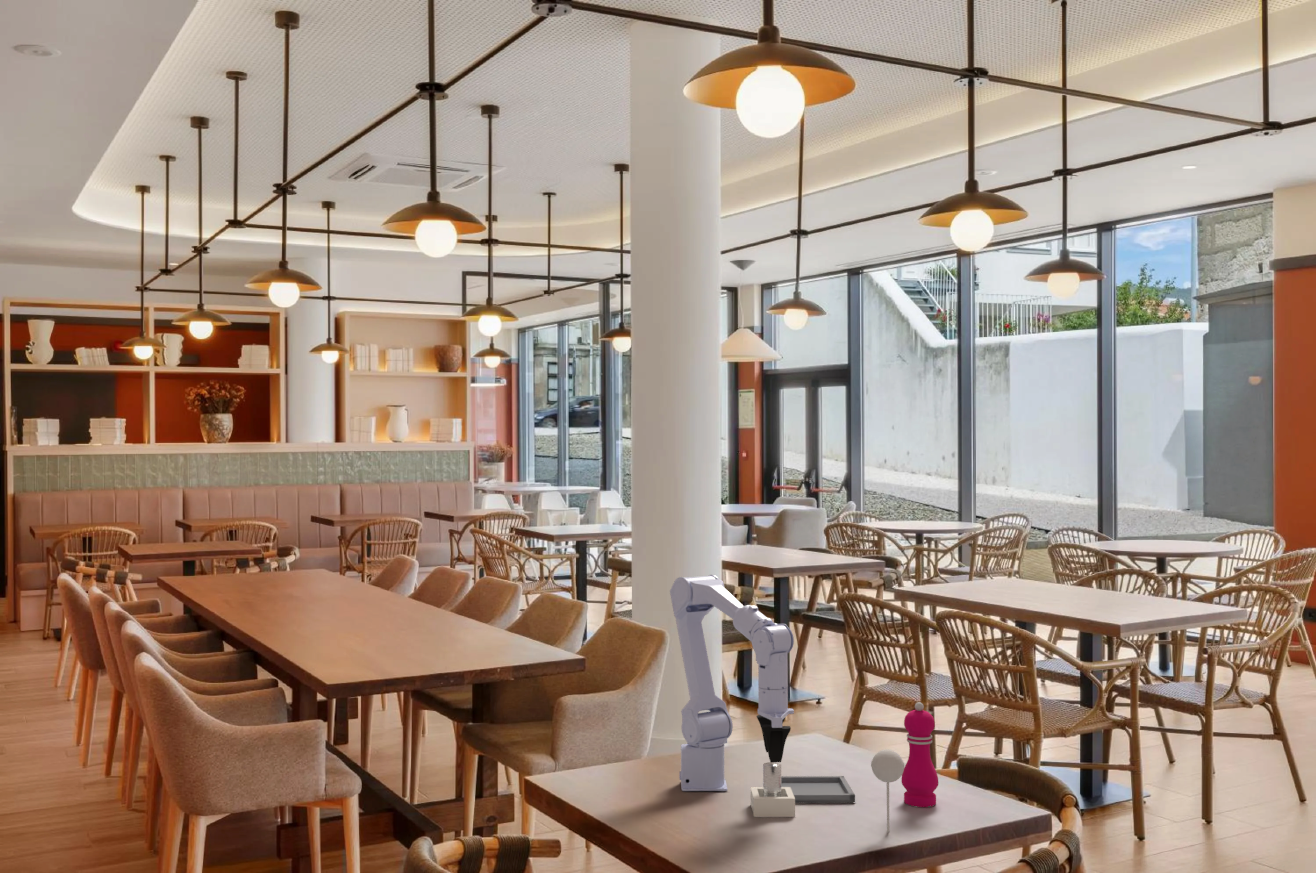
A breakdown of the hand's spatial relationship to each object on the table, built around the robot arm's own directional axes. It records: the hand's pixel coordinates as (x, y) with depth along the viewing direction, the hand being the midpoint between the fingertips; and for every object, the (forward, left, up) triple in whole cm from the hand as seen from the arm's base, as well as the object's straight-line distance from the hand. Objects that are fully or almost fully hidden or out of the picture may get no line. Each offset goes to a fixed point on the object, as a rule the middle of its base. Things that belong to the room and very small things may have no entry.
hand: (773, 756), depth 223 cm
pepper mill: (+30, +5, -11) cm, 32 cm away
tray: (+9, +12, -10) cm, 18 cm away
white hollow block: (0, 0, -10) cm, 10 cm away
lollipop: (+20, -13, -11) cm, 26 cm away
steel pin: (0, 0, -10) cm, 10 cm away
